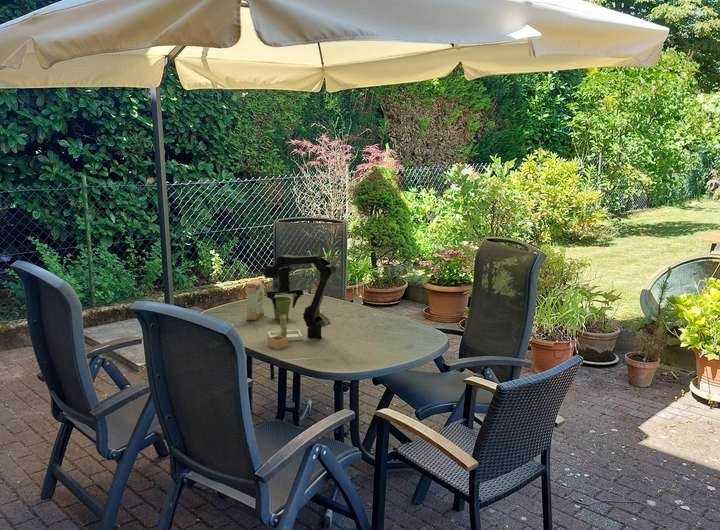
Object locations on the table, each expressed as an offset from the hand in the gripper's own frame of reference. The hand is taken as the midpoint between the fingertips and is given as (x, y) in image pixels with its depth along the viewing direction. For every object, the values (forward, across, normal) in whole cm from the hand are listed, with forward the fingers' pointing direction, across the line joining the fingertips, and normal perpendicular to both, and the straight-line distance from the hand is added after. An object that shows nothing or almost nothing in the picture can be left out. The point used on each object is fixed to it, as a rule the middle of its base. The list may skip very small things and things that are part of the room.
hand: (284, 309), depth 317 cm
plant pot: (+13, -5, -30) cm, 33 cm away
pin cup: (+13, +8, +21) cm, 26 cm away
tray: (+13, +2, +9) cm, 16 cm away
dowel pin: (+12, +3, +11) cm, 17 cm away
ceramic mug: (+13, -23, -14) cm, 30 cm away
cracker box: (+13, +9, -36) cm, 39 cm away
